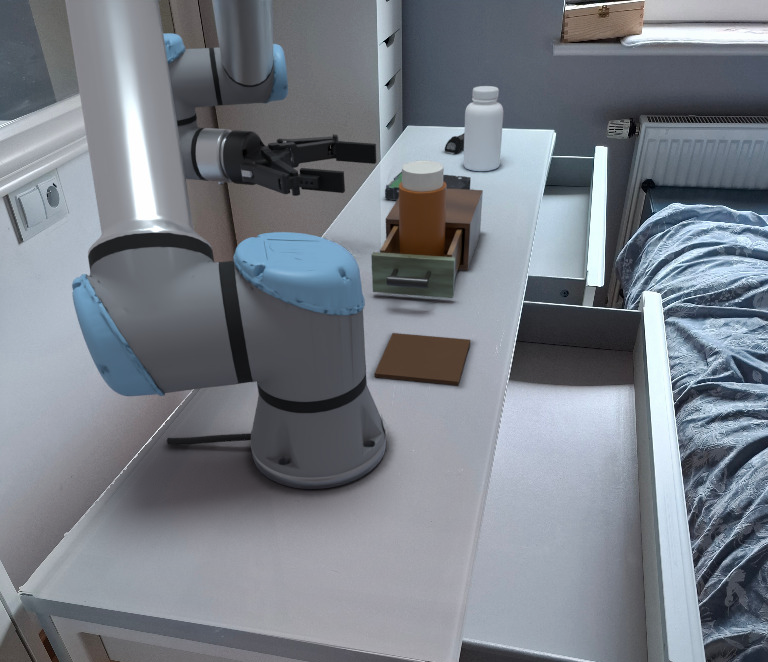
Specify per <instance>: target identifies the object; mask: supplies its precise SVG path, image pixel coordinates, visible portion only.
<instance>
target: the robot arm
mask: <svg viewBox="0 0 768 662" xmlns="http://www.w3.org/2000/svg"><path fill="white" fill-rule="evenodd" d="M64 2H65V8H66V14H67V21H68V28H69V35H70V40H71V47H72V51H73V52H72V53H73V59H74V65H75V72H76V80H77V85H78V92H79V98H80V103H81V111H82V116H83V123H84V130H85V137H86V143H87V149H88V155H89V162H90V168H91V174H92V175H91V176H92V181H93V187H94V193H95V201H96V207H97V213H98V218H99V223H100V224H99V226H100V231H101V235H100V236H99V237H98V239H97V240H95V241H94V242H93V243H92V244H91V246H90V247H89V249H88V250H87V251H88V252H87V258H88V259H87V260H88V266H89V274H86V273H82V274H81V275H80V276H77V277H75V278H74V279H73V281H72V283H71V289H72V292H71V294H72V302H73V305H74V306H73V307H74V311H75V315H76V318H77V321H78V325H79V328H80V331H81V334H82V336H83V340H84V342H85V344H86V348H87V350H88V352H89V354H90V357H91V359H92V361H93V363H94V365H95V367H96V369H97V371H98V373H99V375H100V376H101V378H102V379H103V381H104V382H105V384H106V385H107V386H108V387H109V388H110V389H111V390H112V391H113V392H114V393H116V394H118V395H120V396H124V397H141V396H154V395H158V396H160V397H164V396H166V394H169V393H178V392H184V391H191V390H200V389H207V388H208V389H209V388H217V387H224V386H225V387H226V386H233V385H241V384H247V383H248V384H249V383H256V385H257V386H256V387H257V394H258V396H257V397H258V398H257V402H256V407H255V408H256V409H255V412H254V418H253V422H252V426H251V427H252V428H251V432H250V433H249V432H248V433H231V434H229V433H228V434H214V435H203V436H190V437H167V438H166V444H167V445H170V446H185V445H201V444H211V443H212V444H213V443H226V442H227V443H228V442H245V441H250V449H251V454H252V459H253V463H254V464H255V466H256V467H257V469H258V471H259V472H260V473H261V474H263V475H264V477H266V478H267V479H269V480H271V481H273V482H275V483H278V484H280V485H282V486H286V487H291V488H295V489H303V490H322V489H329V488H330V489H331V488H335V487H339V486H343V485H347V484H350V483H352V482H354V481H356V480H358V479H361V478H363V477H364V476H366V475H368V474H369V473H370V472H371V471H373V469H375V468H376V467H377V466H378V465H379V463H380V462H381V461H382V460H383V457H384V455H385V453H386V448H387V442H386V441H387V438H386V436H387V437H388V431H387V425H386V422H385V419H384V417H383V414H382V413H380V412H379V410H378V407H377V405H376V403H375V400H374V398H373V396H372V393H371V391H370V388H369V386H368V382H367V381H368V380H367V362H366V345H365V325H364V309H365V305H366V301H365V300H366V299H365V296H364V294H363V288H362V286H363V285H362V279H361V270H360V267H359V264H358V261H357V260H356V258H355V257H354V256H353V254H352V253H351V252H350V251H349V250H348V249H346V248H345V247H344V246H342V245H341V244H339V243H337V242H335V241H332V240H329V239H327V238H324V237H322V236H317V235H313V234H308V233H301V232H291V231H274V232H266V233H261V234H257V236H256V237H255V236H254V237H252V236H250V237H247V238H245V239H243V240H242V241H241V242H240V243H238V245H237V246H236V247H235V252H234V254H233V260H227V261H215V259H214V258H215V257H214V251H213V247H212V245H211V244H210V242H209V241H208V240H206V238H204V237H203V236H201V235H200V234H199V233H197V232H196V231H195V230H194V224H193V218H192V210H191V203H190V199H189V191H188V184H187V180H191V181H193V180H194V181H195V180H196V181H204V182H217V184H218V186H223V185H224V184H225V183H233V184H236V185H245V186H255V185H258V186H260V187H263V188H266V189H269V190H272V191H275V192H277V193H280V194H282V195H290V194H291V195H292V196H293V197H298V196H301V190H305V191H316V192H328V193H338V194H344V193H345V192H346V185H345V171H343V170H333V169H321V168H309V167H301V168H299V170H298V169H296V168H298V167H299V165H301V164H306V163H312V162H320V161H327V160H333V159H335V161H336V162H346V163H356V164H357V163H359V164H370V165H376V164H377V144H376V143H371V142H357V141H345V140H344V141H343V140H339V135H338V134H336V133H335V134H332V136H331V135H330V136H320V137H319V136H317V137H316V136H315V137H302V138H280V137H279V138H277V139H276V141H275V142H269V143H268V144H267V145H265V144H264V142H263V140H262V139H261V137H260V135H259V134H258V133H256V132H255V131H253V130H252V131H251V130H239V129H237V130H236V129H234V130H232V129H228V128H214V127H213V128H212V127H201V126H200V127H199V126H198V121H197V120H198V116H197V112H196V109H197V108H206V107H207V108H208V107H218V106H219V107H220V106H234V105H249V104H269V103H271V102H277V101H284V100H285V99H286V98H287V97H288V94H289V84H288V83H289V81H288V78H289V77H288V70H287V63H286V55H285V51H284V48H283V47H282V46H281V45H279V44H278V43H274V0H211V3H212V4H211V5H212V11H213V16H214V22H215V29H216V35H217V41H218V47H201V48H186V46H185V44H184V40H183V38H182V36H180V35H179V34H177V33H164V30H163V29H164V28H163V24H162V23H163V22H162V15H161V11H160V10H161V9H160V4H159V2H161V0H64Z"/></svg>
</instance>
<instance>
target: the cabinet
mask: <svg viewBox="0 0 768 662" xmlns="http://www.w3.org/2000/svg"><path fill="white" fill-rule="evenodd" d="M483 193H484V190H483V189H470V190H467V189H446V218H445V227H452V228H464V231H463V252H462V259H461V262H460V265H459V267H458V270H457V271H468V270H469V268H470V265H471V262H472V260H473V256H474V254H475V250H476V247H477V244H478V242H479V239H480V236H481V225H482V211H483ZM395 224H399V198H398V199H397V200H395V203H394V204H393V206H392V208H391V209H390V211H389V212H388V214H387V215H386V217H385V240H386V239H387V237H388V235H389V234H390V232H391V230H392V228H393V227H394V225H395Z"/></svg>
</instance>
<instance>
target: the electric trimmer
mask: <svg viewBox="0 0 768 662" xmlns="http://www.w3.org/2000/svg"><path fill="white" fill-rule="evenodd" d="M462 149H464V133H461V134H460V135H457V136H456V135H454V136H452V137H451V138H450V139H448V140H447V142H446V143H445V145H444V152H445V154H449V155H450V154H452V155H456V154H458V153H459V152H460V151H461V150H462Z"/></svg>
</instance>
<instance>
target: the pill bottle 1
mask: <svg viewBox="0 0 768 662" xmlns="http://www.w3.org/2000/svg"><path fill="white" fill-rule="evenodd" d="M444 169H445V168H444V165H443V164H442V163H441V162H439V161H433V160H414V161H413V160H412V161H409V162H406V163H404V164H403V165H401V172H402V182H401V183H400V184H399V244H400V254H411V255H426V256H441V257H444V252H445V218H446V183H445V182H444V181H443V175H444Z"/></svg>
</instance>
